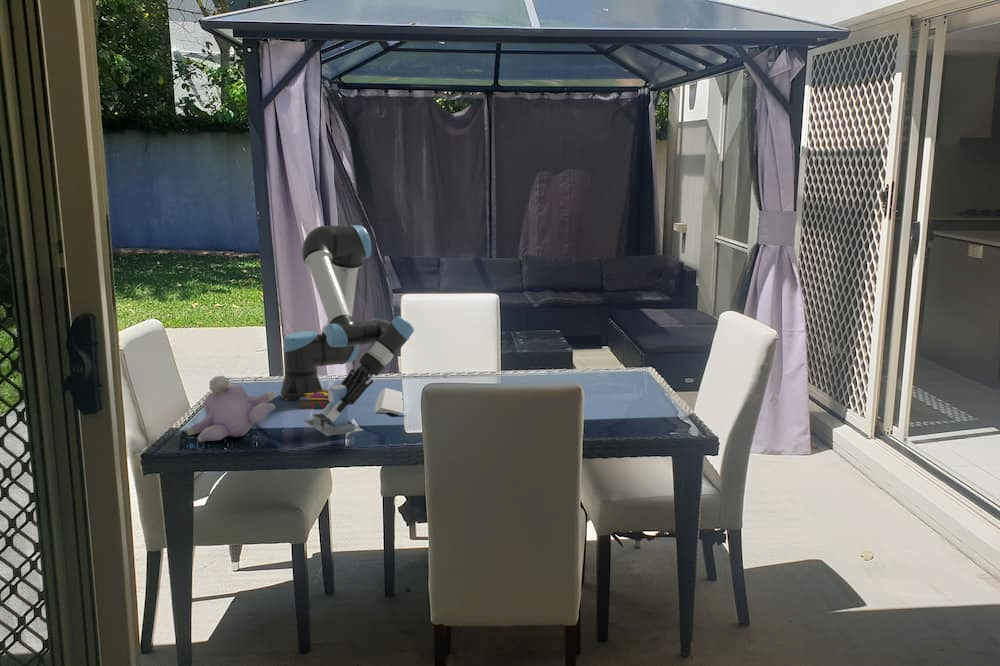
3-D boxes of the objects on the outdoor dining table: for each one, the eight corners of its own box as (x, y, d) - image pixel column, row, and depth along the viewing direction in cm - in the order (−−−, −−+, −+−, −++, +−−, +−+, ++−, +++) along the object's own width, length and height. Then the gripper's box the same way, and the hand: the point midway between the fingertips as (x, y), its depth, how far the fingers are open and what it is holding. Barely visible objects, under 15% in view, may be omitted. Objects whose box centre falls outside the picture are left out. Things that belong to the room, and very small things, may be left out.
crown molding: (406, 417, 291) (406, 407, 291) (369, 418, 290) (369, 407, 290) (407, 397, 320) (407, 387, 319) (374, 397, 319) (374, 388, 318)
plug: (328, 425, 271) (327, 385, 268) (342, 423, 273) (341, 384, 271) (333, 428, 267) (331, 388, 265) (347, 426, 270) (346, 386, 268)
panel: (304, 424, 280) (304, 414, 280) (339, 419, 286) (339, 409, 286) (326, 439, 263) (326, 429, 263) (363, 433, 270) (363, 423, 269)
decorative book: (341, 401, 311) (341, 388, 310) (331, 413, 295) (330, 399, 295) (310, 401, 312) (309, 387, 311) (297, 412, 296) (297, 398, 295)
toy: (189, 435, 282) (200, 466, 256) (167, 389, 277) (176, 415, 250) (273, 398, 292) (292, 424, 265) (253, 352, 286) (271, 374, 259)
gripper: (395, 371, 268) (346, 430, 262) (372, 362, 283) (325, 418, 277) (379, 356, 265) (328, 416, 259) (357, 347, 279) (309, 404, 273)
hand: (327, 417), depth 268 cm, fingers closed on plug, 4 cm apart
